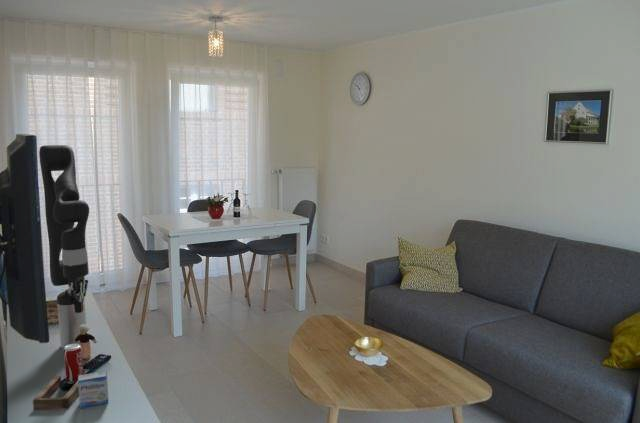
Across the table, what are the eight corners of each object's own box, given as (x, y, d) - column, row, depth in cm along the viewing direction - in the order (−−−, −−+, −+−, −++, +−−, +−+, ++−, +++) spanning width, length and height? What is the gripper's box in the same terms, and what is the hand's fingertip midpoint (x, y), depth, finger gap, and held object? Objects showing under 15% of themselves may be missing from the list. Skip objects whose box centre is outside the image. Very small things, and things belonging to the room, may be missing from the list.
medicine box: (79, 409, 151) (77, 381, 149) (80, 401, 155) (78, 374, 153) (108, 403, 154) (106, 376, 152) (108, 396, 158) (106, 369, 156)
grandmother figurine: (74, 362, 181) (71, 328, 179) (74, 357, 184) (72, 324, 182) (97, 358, 184) (95, 324, 182) (98, 354, 187) (95, 321, 185)
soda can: (77, 385, 164) (74, 350, 162) (62, 384, 165) (59, 348, 163) (87, 378, 169) (84, 343, 167) (73, 376, 170) (70, 342, 168)
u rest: (56, 385, 165) (55, 376, 164) (87, 384, 165) (86, 375, 165) (33, 409, 150) (32, 400, 150) (68, 408, 151) (67, 399, 150)
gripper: (71, 256, 175) (75, 305, 177) (54, 266, 161) (58, 319, 164) (94, 256, 175) (98, 305, 178) (78, 266, 162) (82, 319, 165)
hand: (79, 311), depth 171 cm, fingers closed
